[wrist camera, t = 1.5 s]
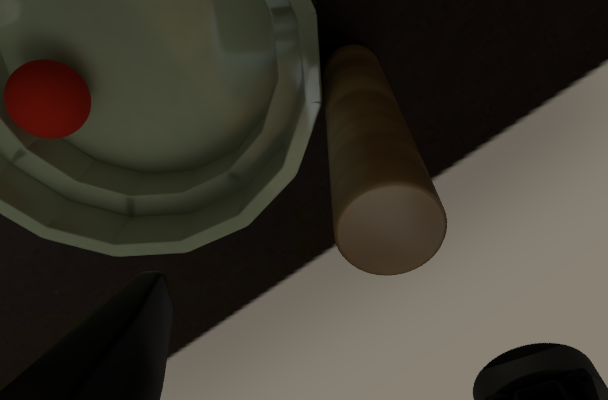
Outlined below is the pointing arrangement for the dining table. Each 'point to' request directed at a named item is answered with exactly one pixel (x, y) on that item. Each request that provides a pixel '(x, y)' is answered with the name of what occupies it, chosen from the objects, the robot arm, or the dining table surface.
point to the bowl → (160, 118)
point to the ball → (47, 99)
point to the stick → (376, 171)
